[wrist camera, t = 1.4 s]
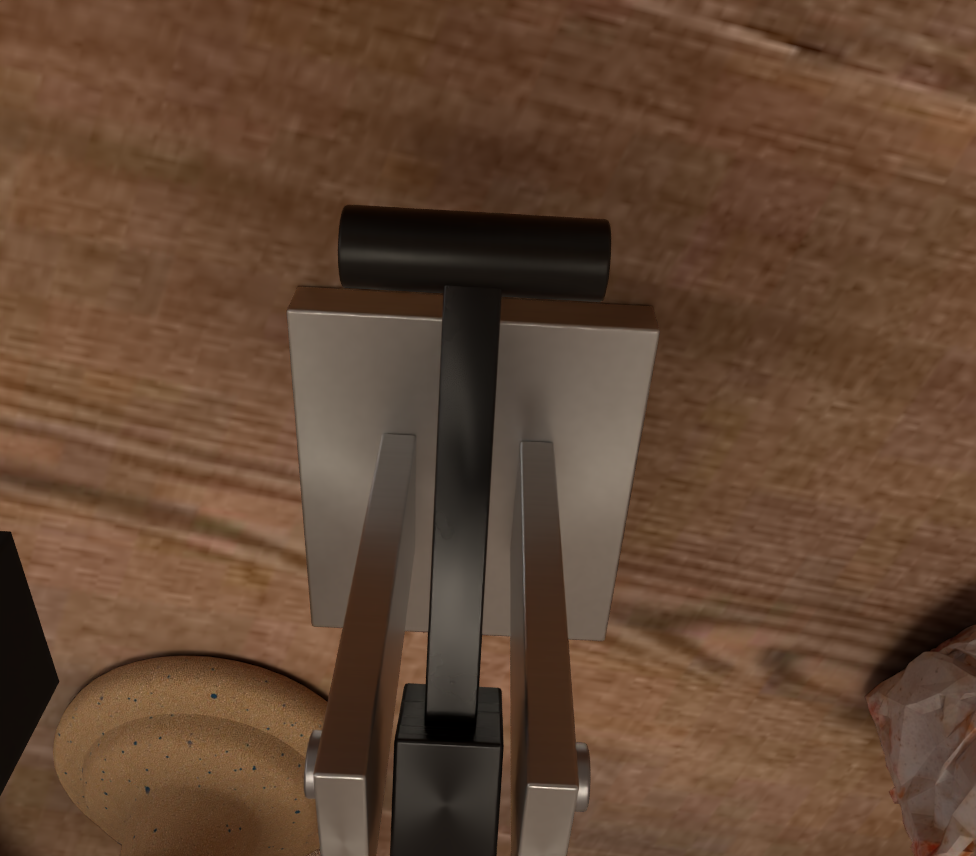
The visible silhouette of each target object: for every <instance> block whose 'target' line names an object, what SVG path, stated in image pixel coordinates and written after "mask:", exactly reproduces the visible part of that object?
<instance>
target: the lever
mask: <svg viewBox="0 0 976 856" xmlns="http://www.w3.org/2000/svg"><path fill="white" fill-rule="evenodd" d="M610 260H611V228H610V224H609V221H608V220H606V219H590V218H573V217H555V216H538V215H520V214H503V213H485V212H468V211H450V210H433V209H415V208H398V207H380V206H363V205H346V206H344V208H343V210H342V214H341V218H340V225H339V235H338V268H339V277H340V281H341V284H342V286H343V287H345V288H356V289H374V290H391V291H409V292H427V293H443V311H442V333H441V355H440V378H439V400H438V422H437V445H436V467H435V489H434V512H433V534H432V556H431V578H430V601H429V623H428V645H427V668H426V684H410V683H408V684H405V686H404V690H403V696H402V702H401V707H400V713H399V718H398V724H397V730H396V735H395V741H394V766H393V792H392V819H391V846H390V856H496V854H497V839H498V824H499V808H500V793H501V778H502V762H503V747H504V745H503V717H502V691H501V689H500V688H491V687H479V678H480V661H481V644H482V626H483V609H484V592H485V575H486V558H487V541H488V523H489V506H490V489H491V472H492V455H493V438H494V421H495V403H496V386H497V369H498V352H499V335H500V318H501V300H502V297H517V298H535V299H553V300H571V301H588V302H601V301H603V299H604V297H605V294H606V290H607V285H608V279H609V271H610Z"/></svg>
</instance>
